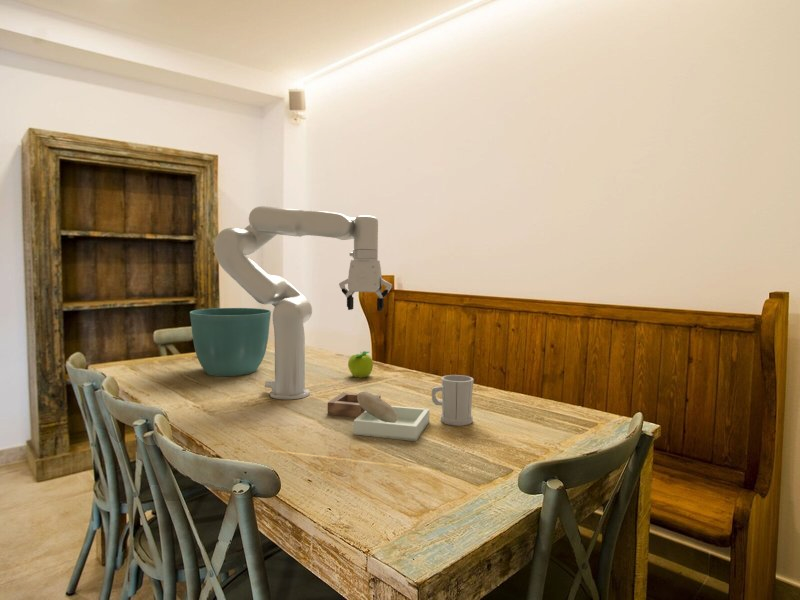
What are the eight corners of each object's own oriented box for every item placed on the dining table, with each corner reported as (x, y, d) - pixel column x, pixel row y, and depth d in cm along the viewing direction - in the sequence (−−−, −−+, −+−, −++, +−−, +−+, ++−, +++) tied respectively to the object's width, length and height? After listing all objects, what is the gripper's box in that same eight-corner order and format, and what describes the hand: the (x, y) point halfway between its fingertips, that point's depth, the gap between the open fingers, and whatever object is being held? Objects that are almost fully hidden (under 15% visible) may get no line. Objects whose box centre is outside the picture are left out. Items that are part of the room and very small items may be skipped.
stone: (398, 420, 128) (367, 384, 129) (380, 435, 129) (350, 399, 130) (403, 414, 133) (374, 380, 135) (386, 429, 134) (357, 394, 136)
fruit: (377, 377, 192) (377, 351, 191) (362, 381, 184) (363, 354, 183) (358, 374, 197) (358, 349, 196) (343, 378, 189) (343, 352, 188)
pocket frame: (327, 414, 142) (327, 402, 142) (343, 403, 154) (343, 392, 153) (367, 418, 139) (367, 405, 139) (380, 406, 151) (380, 395, 150)
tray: (353, 434, 125) (353, 420, 125) (373, 416, 141) (373, 404, 140) (415, 441, 121) (416, 426, 121) (429, 421, 137) (429, 409, 136)
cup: (446, 428, 131) (447, 383, 130) (428, 419, 139) (429, 376, 138) (479, 423, 136) (480, 380, 135) (460, 414, 144) (461, 373, 143)
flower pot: (258, 381, 181) (258, 315, 180) (176, 380, 182) (175, 313, 180) (279, 365, 211) (279, 308, 210) (208, 364, 212) (208, 307, 210)
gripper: (335, 255, 156) (334, 310, 157) (388, 255, 152) (387, 312, 153) (344, 256, 163) (343, 308, 164) (395, 256, 159) (394, 310, 160)
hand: (365, 310), depth 159 cm, fingers open, 9 cm apart
